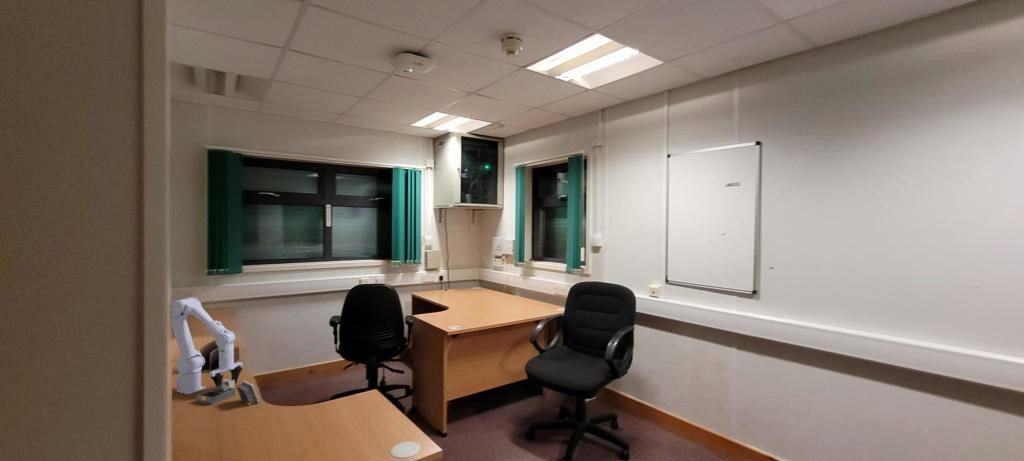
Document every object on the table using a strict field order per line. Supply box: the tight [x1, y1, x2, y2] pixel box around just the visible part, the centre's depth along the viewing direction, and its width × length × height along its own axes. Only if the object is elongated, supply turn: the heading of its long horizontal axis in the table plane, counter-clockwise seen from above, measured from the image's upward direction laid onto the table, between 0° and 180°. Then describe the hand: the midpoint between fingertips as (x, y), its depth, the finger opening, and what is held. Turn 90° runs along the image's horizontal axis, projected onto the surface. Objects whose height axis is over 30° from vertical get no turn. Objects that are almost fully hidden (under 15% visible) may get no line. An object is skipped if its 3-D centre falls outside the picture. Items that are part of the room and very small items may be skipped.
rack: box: [196, 385, 236, 406], centre depth 180 cm, size 9×11×4 cm
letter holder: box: [199, 339, 241, 373], centre depth 222 cm, size 10×20×14 cm, turn 8°
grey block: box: [222, 378, 236, 388], centre depth 189 cm, size 6×3×5 cm, turn 73°
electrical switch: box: [236, 380, 260, 406], centre depth 176 cm, size 9×5×9 cm, turn 57°
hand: (227, 386), depth 189 cm, fingers open, 7 cm apart
